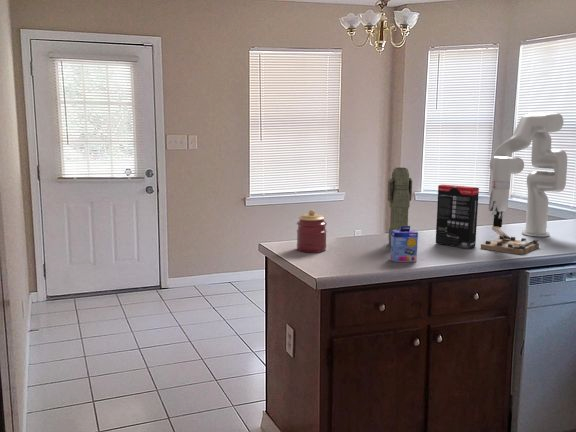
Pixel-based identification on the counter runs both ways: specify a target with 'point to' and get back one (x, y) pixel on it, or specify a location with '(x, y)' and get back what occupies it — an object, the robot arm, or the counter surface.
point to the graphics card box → (457, 216)
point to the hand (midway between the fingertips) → (497, 226)
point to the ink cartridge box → (404, 245)
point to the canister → (311, 233)
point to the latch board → (509, 245)
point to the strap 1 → (500, 232)
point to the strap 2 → (522, 243)
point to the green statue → (399, 199)
